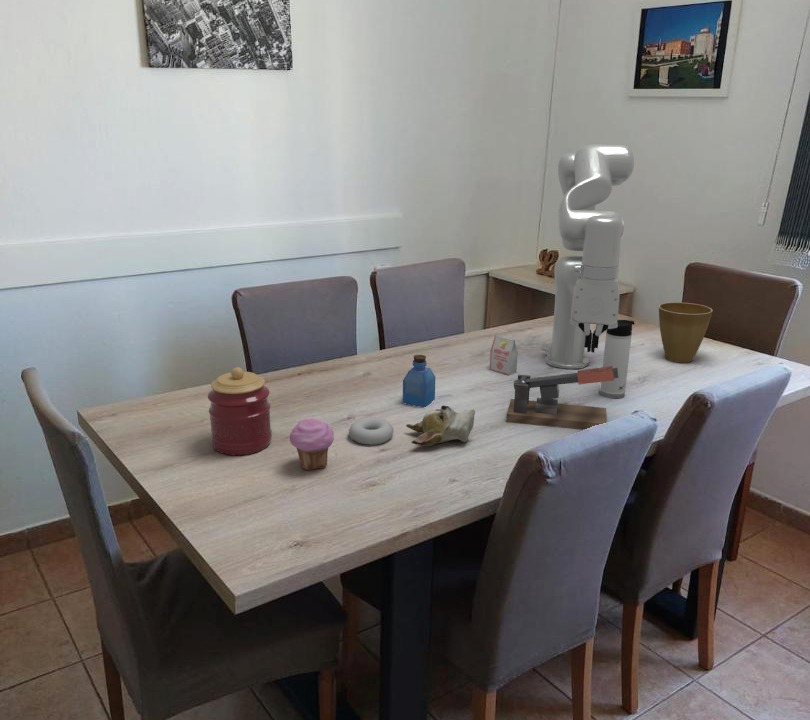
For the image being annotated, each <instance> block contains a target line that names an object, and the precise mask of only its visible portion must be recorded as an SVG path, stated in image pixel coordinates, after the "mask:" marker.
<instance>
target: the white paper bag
mask: <svg viewBox="0 0 810 720" xmlns="http://www.w3.org/2000/svg"><path fill="white" fill-rule="evenodd" d="M518 352H519V351H518V350H517V346H516V340H515V339H512V338H508V337H504V336H500V335H496V334H495V335H494V338H493V341H492V344H491V347H490V354H489V355H490V356H489V371H492V372H496V373H499V374H502V375H504V376H511V375H514V374H516V373H517V370H518V369H517V367H518V356H519V355H518V354H519V353H518Z"/></svg>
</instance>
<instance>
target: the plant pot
mask: <svg viewBox="0 0 810 720" xmlns="http://www.w3.org/2000/svg"><path fill="white" fill-rule="evenodd" d="M712 314H713V309H712V308H711V307H709V306H707V305H704V304H698V303H691V302H690V303H689V302H674V301H673V302H663V303H661V304H659V305H658V319H659V320H658V321H659V322H658V323H659V330H660V338H661V343H662V347H663V351H664V354H665V358H666V359H667V360H668V361H671V362H673V363H674V362H675V363H681V364H684V363H691V362H692V361H693V359H694V358H695V356H696V355H697V354H698V353H697V352H698V350H699V348H700V347H701V345H702V343H703V340H704V338H705V335H706V332H707V330H708V328H709V324H710V322H711V318H712Z"/></svg>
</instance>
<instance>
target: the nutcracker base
mask: <svg viewBox="0 0 810 720" xmlns="http://www.w3.org/2000/svg"><path fill="white" fill-rule="evenodd" d="M522 376H525V377H527V378H528V379H529V378H531V375H527V374H518V375H517V380H519V378H520V377H522ZM530 392H531V388H528V385H527V384H517V383H516V384H515V389H514V398H510V401H509V403H508V404H509V405H508V408H507V412H506V416H505V417H506V418H505V419H506V421H505V422H508V423H516V424H517V423H518V424H526V425H533V426H534V425H535V426H546V427H554V428H555V427H556V428H562V429H563V428H564V429H572V430H574V429H575V430H583V429H587V428H590V427H592V426H595V425H599V424H603V423H606V422H607V423H608V418H607V417H608V416H607V413H608V411H607V407H600V406H592V405H591V406H588V405H579V404H578V405H577V404H570V403H569V404H568V403H559V399H558V398H554V399H546V400H542V399H541V397H540V396H539V397H536V400H530Z"/></svg>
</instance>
